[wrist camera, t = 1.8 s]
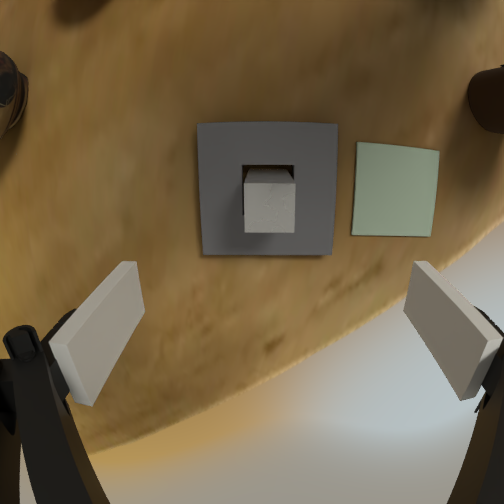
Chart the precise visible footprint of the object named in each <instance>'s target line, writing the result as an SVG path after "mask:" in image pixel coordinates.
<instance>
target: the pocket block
mask: <svg viewBox="0 0 504 504" xmlns="http://www.w3.org/2000/svg"><path fill="white" fill-rule="evenodd" d="M197 139H198V169H199V192H200V212H201V229H202V245H203V255H332V247H333V234H334V219H335V203H336V182H337V154H338V124H331V123H311V122H272V121H256V122H216V123H197ZM243 165H292V179H293V180H294V182H295V184H296V187H295V226H294V233H253V232H248V233H245V221H244V198H243Z"/></svg>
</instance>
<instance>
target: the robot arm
mask: <svg viewBox="0 0 504 504" xmlns="http://www.w3.org/2000/svg"><path fill="white" fill-rule="evenodd" d="M404 312H405V314H406V315H407V317H408V318H409V320H410V321H411V323H412V324H413V326H414V327H415V329H416V330H417V332H418V333H419V335H420V336H421V338H422V339H423V341H424V342H425V344H426V346H427V347H428V349H429V350H430V352H431V353H432V355H433V357H434V358H435V360H436V361H437V363H438V365H439V366H440V368H441V369H442V371H443V373H444V374H445V376H446V378H447V379H448V381H449V383H450V384H451V386H452V388H453V389H454V391H455V392H456V394H457V396H458V398H459V400H460V401H462V400H466V399H470V398H473V397H475V396H476V394H477V393H478V391H479V389H480V387H481V385H482V386H483V388H484V389H485V390H486V392H485V394H484V395H483V397H482V399H481V401H480V403H479V405H478V406H477V408H476V410H475V413H477V411H478V410H479V412H478V416H477V420H476V424H475V427H474V431H473V434H472V438H471V441H470V444H469V447H468V450H467V453H466V456H465V459H464V462H463V465H462V468H461V470H460V473H459V476H458V478H457V481H456V483H455V486H454V488H453V490H452V493H451V495H450V498H449V500H448V502H447V504H504V333H503V332H502V331H501V330H500V328H499V327H498V326H497V325H495V323H494V322H493V321H492V320H490V318H489V317H488V316H487V315H486V314H485V313H484V312H483V311H482V310H480V309H478V308H477V307H475V306H473V305H472V304H471V303H470V302H469V301H468V300H467V299H466V298H465V297H464V296H463V295H462V294H461V293H460V292H459V291H458V290H457V289H456V288H455V287H454V286H453V285H452V284H451V283H450V282H449V281H447V280H446V279H445V278H444V277H443V276H442V275H441V274H440V273H439V272H438V271H437V270H436V269H435V268H434V267H433V266H432V265H430V264H429V263H428V262H427V261H413V267H412V272H411V278H410V283H409V288H408V292H407V297H406V302H405V306H404ZM144 313H145V309H144V303H143V298H142V292H141V287H140V281H139V275H138V268H137V262H136V261H122V262H121V263H120V264H119V265H118V266H117V267H116V268H115V269H114V270H113V271H112V272H111V273H110V274H109V275H108V276H107V277H106V278H105V279H104V280H103V282H102V283H101V284H100V285H99V286H98V287H97V288H96V289H95V290H94V291H93V292H92V293H91V294H90V296H89V297H88V298H87V299H86V300H85V301H84V302H83V303H82V304H81V305H80V307H79V308H78V309H73V310H71V311H70V312H68V313H67V314H65V315H64V316H63V317H62V318H61V319H60V320H59V321H58V323H57V324H56V325H55V326H54V327H53V329H51V330H50V332H49V333H48V334H47V335H46V336H45V337H44V338H43V340H42V341H41V342H40V341H39V338H38V336H37V333H36V330H35V328H34V327H32V326H30V325H22V326H18V327H15V328H13V329H11V330H10V331H8V332H7V333H6V334H5V336H4V338H3V343H4V345H5V347H6V349H7V352H8V354H9V356H10V358H11V359H0V504H20V497H19V496H20V492H19V480H20V475H19V474H20V451H21V444H22V449H23V453H24V458H25V463H26V467H27V471H28V475H29V479H30V482H31V486H32V490H33V493H34V496H35V500H36V503H37V504H110V502H109V500H108V499H107V497H106V495H105V493H104V491H103V489H102V487H101V484H100V482H99V480H98V478H97V476H96V474H95V472H94V470H93V467H92V465H91V463H90V461H89V458H88V456H87V453H86V451H85V448H84V446H83V444H82V441H81V438H80V436H79V433H78V431H77V428H76V425H75V422H74V420H73V417H72V414H71V411H70V408H69V405H68V403H67V401H66V399H65V398H66V396H67V395H68V393H69V391H70V393H71V395H72V397H73V399H74V401H75V403H80V404H84V405H89V406H93V404H94V402H95V401H96V399H97V397H98V395H99V393H100V391H101V389H102V387H103V385H104V384H105V382H106V380H107V378H108V376H109V374H110V373H111V371H112V369H113V367H114V365H115V364H116V362H117V360H118V358H119V356H120V355H121V353H122V351H123V349H124V347H125V346H126V344H127V342H128V340H129V339H130V337H131V335H132V333H133V332H134V330H135V328H136V327H137V325H138V323H139V321H140V320H141V318H142V316H143V315H144Z"/></svg>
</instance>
